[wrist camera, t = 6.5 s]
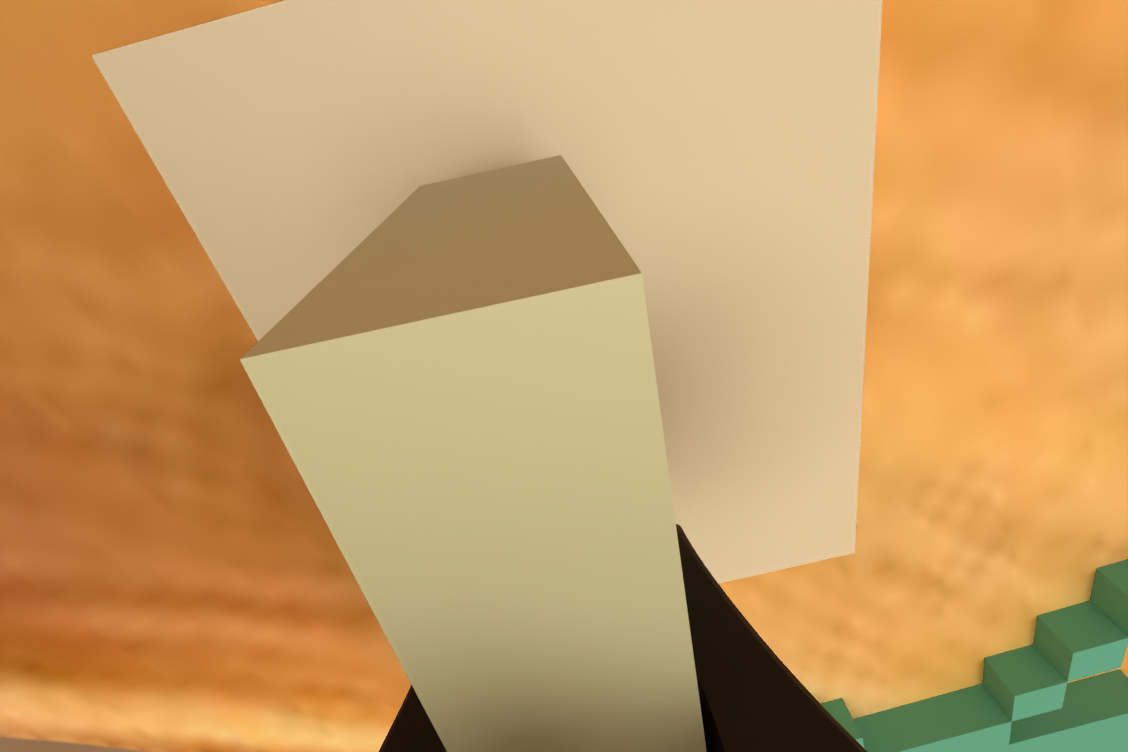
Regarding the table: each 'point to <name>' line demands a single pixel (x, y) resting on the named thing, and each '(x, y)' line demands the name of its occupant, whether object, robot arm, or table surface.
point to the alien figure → (1026, 690)
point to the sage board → (498, 464)
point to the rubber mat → (609, 176)
